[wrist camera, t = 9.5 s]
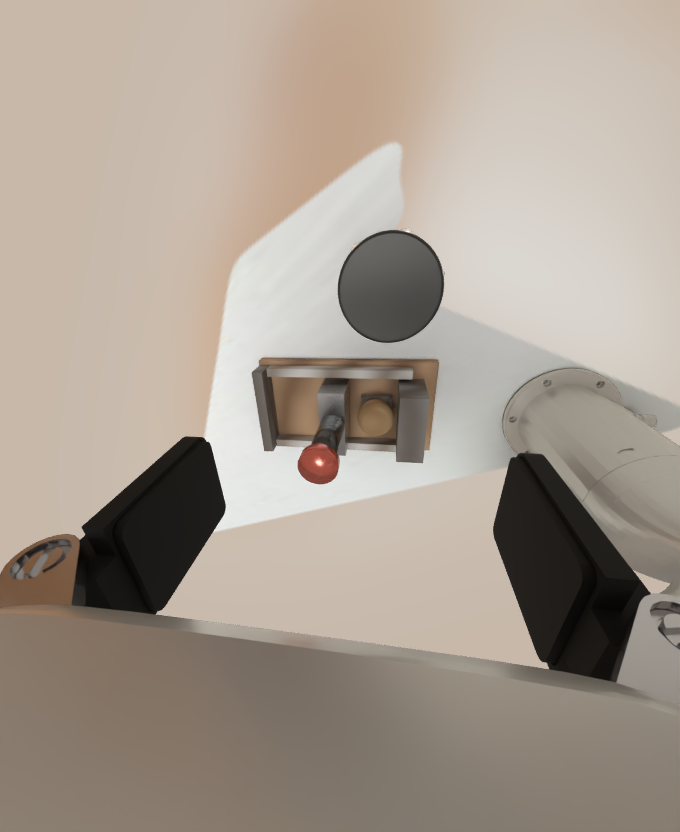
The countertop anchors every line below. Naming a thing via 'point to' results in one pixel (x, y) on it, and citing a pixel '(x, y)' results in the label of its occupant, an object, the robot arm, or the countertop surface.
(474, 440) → the countertop surface
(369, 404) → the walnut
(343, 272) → the jar
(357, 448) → the press base
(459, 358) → the countertop surface
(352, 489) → the countertop surface
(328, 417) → the handle
